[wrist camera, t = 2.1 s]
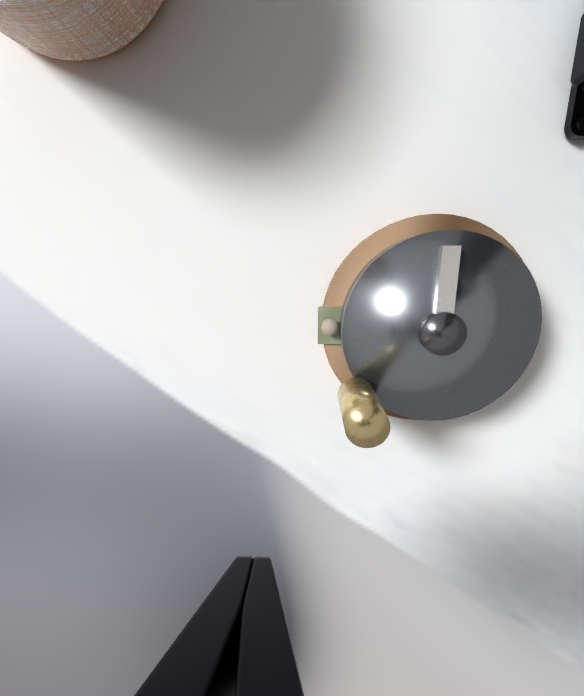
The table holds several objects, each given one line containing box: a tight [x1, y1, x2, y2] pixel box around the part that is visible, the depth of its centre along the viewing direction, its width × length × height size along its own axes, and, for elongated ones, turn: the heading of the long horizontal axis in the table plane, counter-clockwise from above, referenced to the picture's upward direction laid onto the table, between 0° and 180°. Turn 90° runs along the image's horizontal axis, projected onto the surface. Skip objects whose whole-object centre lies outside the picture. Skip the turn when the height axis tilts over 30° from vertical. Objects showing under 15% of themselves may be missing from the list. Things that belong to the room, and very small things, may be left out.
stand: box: [318, 214, 522, 419], centre depth 17 cm, size 11×11×2 cm
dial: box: [338, 229, 542, 448], centre depth 15 cm, size 9×9×5 cm
